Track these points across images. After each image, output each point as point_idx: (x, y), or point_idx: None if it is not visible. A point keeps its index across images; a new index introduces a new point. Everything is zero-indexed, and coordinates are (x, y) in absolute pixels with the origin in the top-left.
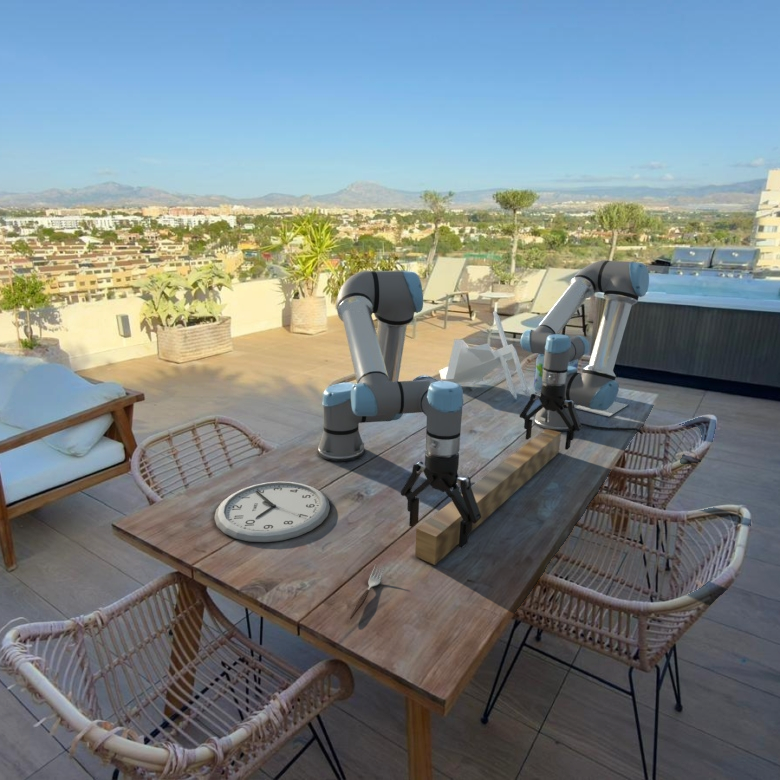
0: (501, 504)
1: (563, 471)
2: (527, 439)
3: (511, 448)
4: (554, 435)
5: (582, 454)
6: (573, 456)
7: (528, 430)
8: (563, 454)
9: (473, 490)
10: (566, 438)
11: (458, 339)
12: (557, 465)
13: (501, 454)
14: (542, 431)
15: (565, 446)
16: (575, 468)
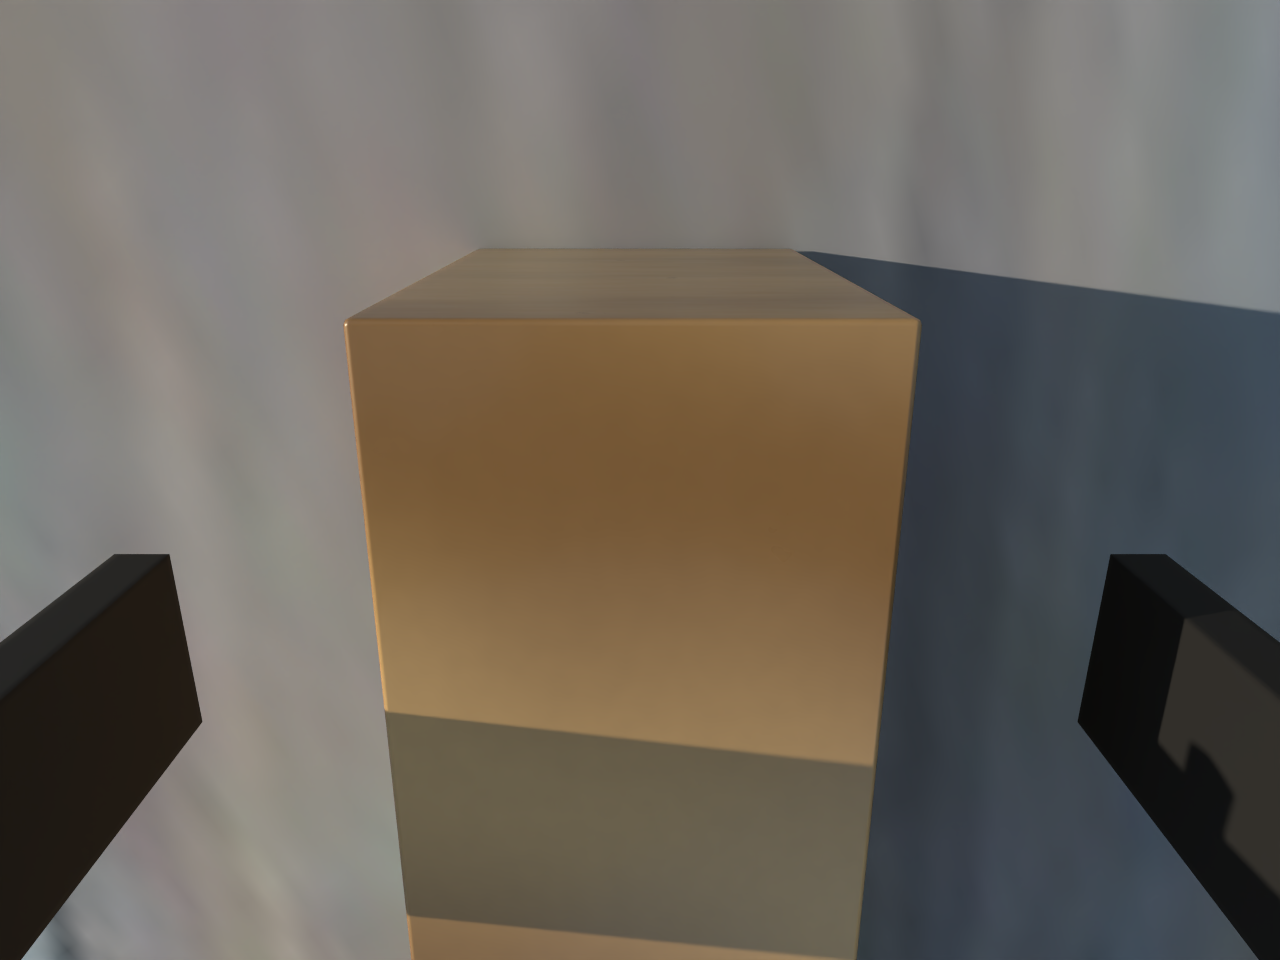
0: None
1: (1046, 876)
2: (194, 722)
3: None
4: (805, 706)
5: (1245, 7)
6: (1088, 243)
7: (62, 904)
8: (895, 275)
9: None
10: (1249, 938)
11: None
12: (921, 757)
13: (87, 894)
14: (377, 627)
15: (1116, 766)
16: None
